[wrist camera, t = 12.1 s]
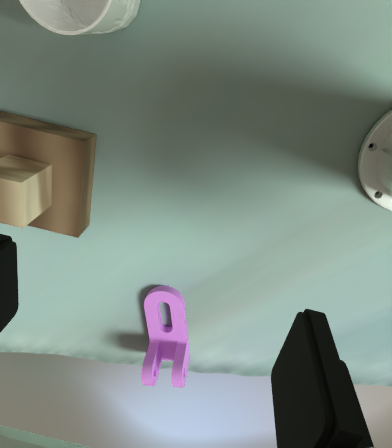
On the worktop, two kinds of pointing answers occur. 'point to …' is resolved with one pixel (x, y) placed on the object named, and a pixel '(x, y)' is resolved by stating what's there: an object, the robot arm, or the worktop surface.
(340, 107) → the worktop surface
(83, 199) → the base block
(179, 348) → the bracket
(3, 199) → the maple block
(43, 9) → the white cup
